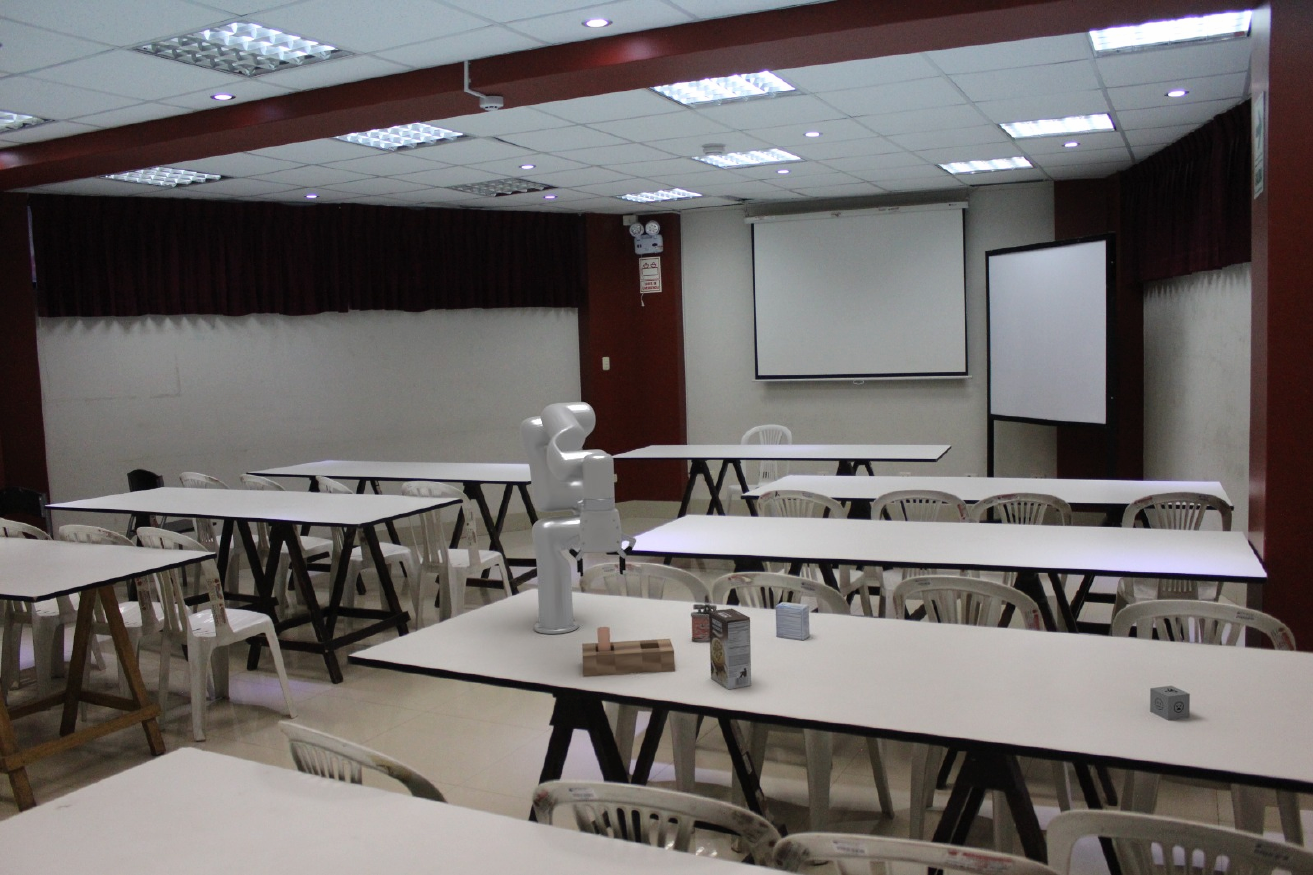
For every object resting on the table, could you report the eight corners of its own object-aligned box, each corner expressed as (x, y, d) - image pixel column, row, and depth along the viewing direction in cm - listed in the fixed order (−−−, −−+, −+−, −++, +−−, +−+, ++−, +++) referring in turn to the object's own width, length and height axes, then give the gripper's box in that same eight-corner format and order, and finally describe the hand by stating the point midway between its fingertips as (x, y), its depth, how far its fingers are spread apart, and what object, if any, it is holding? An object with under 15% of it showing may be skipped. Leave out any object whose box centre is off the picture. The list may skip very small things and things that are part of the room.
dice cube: (1189, 717, 196) (1189, 693, 195) (1168, 720, 195) (1168, 696, 194) (1171, 709, 201) (1171, 685, 200) (1150, 712, 200) (1150, 688, 199)
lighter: (722, 638, 260) (721, 602, 259) (721, 642, 256) (720, 605, 256) (692, 638, 261) (690, 602, 260) (691, 642, 257) (690, 605, 256)
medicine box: (810, 636, 259) (809, 604, 258) (803, 641, 255) (802, 608, 255) (783, 632, 263) (782, 601, 263) (775, 637, 260) (775, 605, 259)
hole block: (582, 663, 243) (582, 643, 242) (670, 658, 245) (669, 638, 244) (583, 676, 233) (582, 656, 232) (674, 671, 235) (674, 650, 234)
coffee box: (709, 678, 229) (707, 611, 227) (733, 674, 231) (732, 607, 230) (727, 690, 220) (725, 620, 219) (752, 685, 223) (750, 616, 222)
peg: (598, 667, 240) (597, 627, 239) (611, 666, 240) (609, 626, 239) (599, 670, 237) (597, 630, 236) (611, 670, 237) (609, 629, 236)
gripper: (563, 508, 230) (565, 579, 232) (636, 505, 232) (638, 576, 234) (563, 503, 238) (565, 572, 240) (634, 500, 239) (636, 569, 241)
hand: (601, 574), depth 237 cm, fingers open, 9 cm apart
